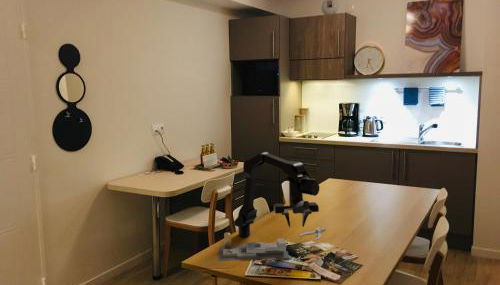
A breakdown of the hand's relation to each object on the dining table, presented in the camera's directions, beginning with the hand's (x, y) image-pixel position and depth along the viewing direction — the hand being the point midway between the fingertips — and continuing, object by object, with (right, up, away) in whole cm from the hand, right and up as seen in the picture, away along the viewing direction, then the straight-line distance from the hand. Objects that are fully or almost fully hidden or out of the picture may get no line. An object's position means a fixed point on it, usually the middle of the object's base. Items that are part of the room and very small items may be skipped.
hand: (296, 226), depth 177 cm
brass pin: (-30, -11, +7) cm, 33 cm away
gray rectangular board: (-19, -12, +3) cm, 22 cm away
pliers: (+12, -9, +25) cm, 29 cm away
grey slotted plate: (-19, -12, +1) cm, 22 cm away
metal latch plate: (-13, -10, +1) cm, 16 cm away
